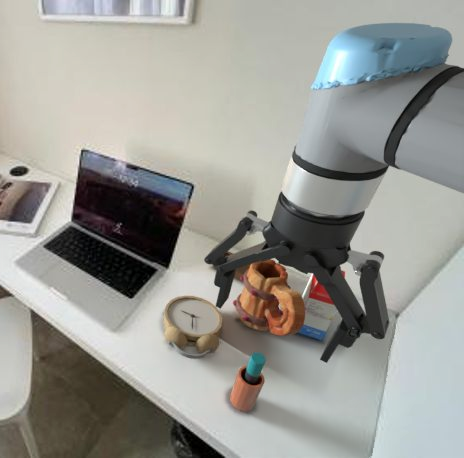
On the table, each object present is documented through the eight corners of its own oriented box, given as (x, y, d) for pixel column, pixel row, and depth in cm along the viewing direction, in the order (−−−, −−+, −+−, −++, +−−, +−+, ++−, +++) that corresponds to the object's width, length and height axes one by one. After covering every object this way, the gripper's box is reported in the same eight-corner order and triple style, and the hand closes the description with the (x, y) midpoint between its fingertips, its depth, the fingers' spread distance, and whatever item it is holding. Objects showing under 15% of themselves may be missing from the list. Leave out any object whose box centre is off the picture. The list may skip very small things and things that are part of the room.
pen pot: (258, 404, 61) (270, 380, 56) (242, 416, 60) (252, 392, 55) (241, 386, 64) (250, 361, 59) (224, 396, 63) (233, 372, 58)
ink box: (321, 341, 69) (350, 290, 60) (292, 331, 72) (315, 280, 63) (325, 310, 74) (352, 259, 66) (298, 302, 77) (320, 251, 68)
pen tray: (281, 281, 82) (283, 275, 80) (271, 295, 79) (273, 289, 78) (223, 256, 90) (225, 249, 89) (212, 268, 87) (213, 261, 86)
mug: (224, 303, 79) (237, 253, 69) (260, 298, 79) (277, 246, 70) (260, 363, 67) (281, 312, 58) (302, 356, 67) (330, 304, 58)
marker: (251, 401, 61) (269, 360, 54) (242, 406, 61) (259, 366, 53) (241, 391, 63) (257, 350, 55) (233, 396, 62) (248, 356, 55)
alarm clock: (221, 299, 76) (225, 351, 64) (217, 316, 78) (221, 370, 66) (166, 291, 79) (160, 339, 67) (165, 308, 82) (159, 358, 69)
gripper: (499, 223, 31) (388, 359, 44) (219, 154, 46) (198, 271, 59) (494, 272, 27) (374, 405, 40) (190, 179, 42) (174, 298, 55)
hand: (269, 326), depth 50 cm, fingers open, 13 cm apart
